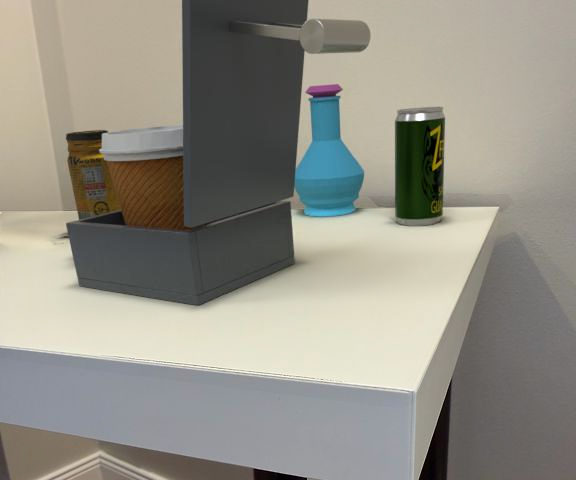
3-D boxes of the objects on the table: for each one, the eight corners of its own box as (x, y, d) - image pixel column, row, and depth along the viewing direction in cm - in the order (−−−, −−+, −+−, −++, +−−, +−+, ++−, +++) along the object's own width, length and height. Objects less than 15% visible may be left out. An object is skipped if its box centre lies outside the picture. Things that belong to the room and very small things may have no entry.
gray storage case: (78, 286, 61) (65, 222, 58) (181, 251, 70) (173, 196, 68) (198, 305, 52) (188, 232, 50) (295, 263, 62) (290, 201, 60)
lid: (181, -17, 42) (293, -8, 38) (301, -6, 52) (400, 2, 48) (183, 225, 50) (276, 255, 46) (286, 195, 60) (370, 217, 56)
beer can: (390, 226, 74) (389, 111, 69) (400, 216, 79) (400, 108, 74) (438, 226, 72) (440, 108, 67) (446, 216, 77) (449, 105, 72)
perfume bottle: (329, 202, 91) (323, 84, 85) (380, 207, 85) (378, 80, 79) (280, 214, 86) (270, 89, 80) (330, 221, 79) (324, 85, 73)
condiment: (139, 222, 89) (123, 127, 84) (113, 236, 81) (93, 133, 76) (90, 224, 90) (71, 131, 85) (59, 238, 83) (37, 137, 78)
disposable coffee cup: (133, 284, 57) (107, 136, 52) (112, 262, 65) (88, 133, 60) (236, 265, 60) (221, 125, 55) (204, 247, 68) (188, 123, 63)
